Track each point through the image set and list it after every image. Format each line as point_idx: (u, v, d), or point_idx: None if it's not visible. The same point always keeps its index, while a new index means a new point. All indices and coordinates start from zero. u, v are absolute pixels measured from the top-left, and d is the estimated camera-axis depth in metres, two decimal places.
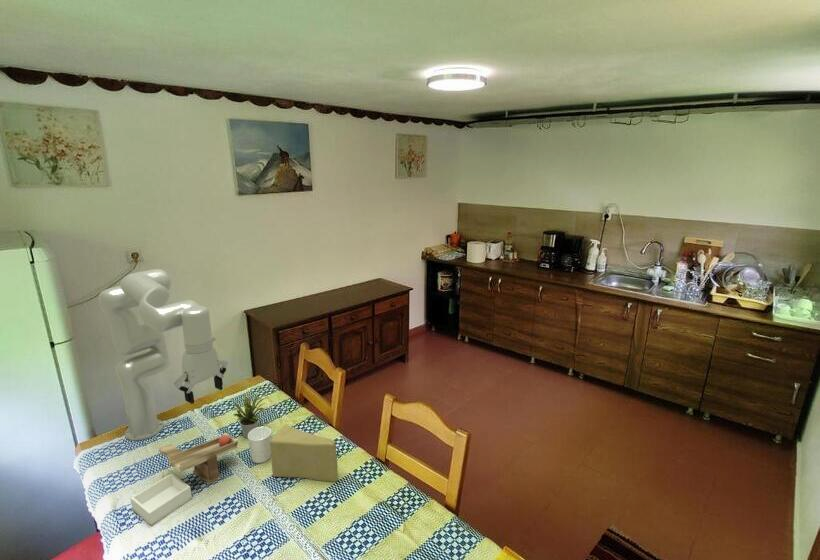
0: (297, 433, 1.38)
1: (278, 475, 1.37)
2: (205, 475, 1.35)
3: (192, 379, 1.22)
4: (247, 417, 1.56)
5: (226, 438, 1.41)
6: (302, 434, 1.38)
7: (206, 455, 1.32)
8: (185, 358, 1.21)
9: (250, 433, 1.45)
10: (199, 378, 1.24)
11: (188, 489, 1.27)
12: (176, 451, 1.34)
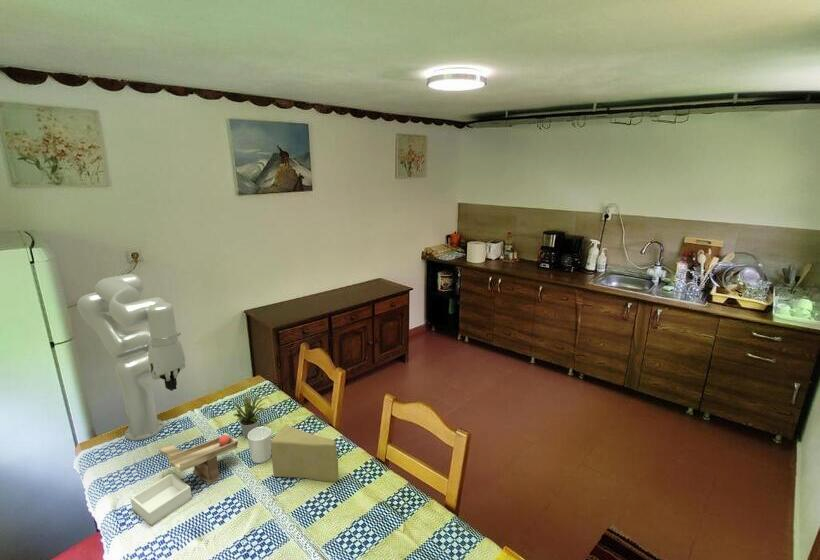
0: (298, 434, 1.38)
1: (279, 475, 1.37)
2: (205, 475, 1.35)
3: (157, 370, 1.32)
4: (247, 417, 1.56)
5: (226, 438, 1.41)
6: (303, 434, 1.38)
7: (206, 455, 1.32)
8: (151, 351, 1.32)
9: (250, 433, 1.45)
10: (165, 370, 1.34)
11: (188, 489, 1.27)
12: (176, 451, 1.34)
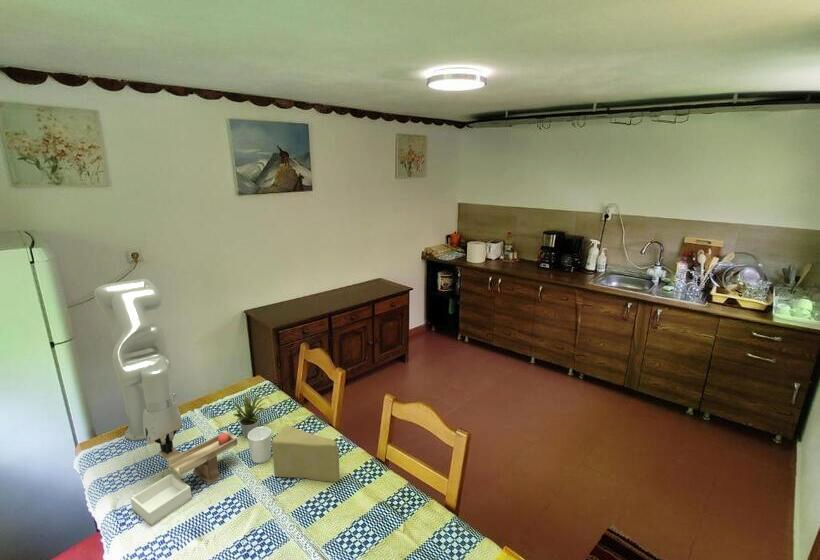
0: (299, 434, 1.38)
1: (280, 475, 1.37)
2: (205, 475, 1.35)
3: (152, 435, 1.27)
4: (247, 417, 1.56)
5: (225, 436, 1.40)
6: (304, 435, 1.38)
7: (205, 456, 1.32)
8: (146, 415, 1.27)
9: (250, 433, 1.45)
10: (160, 434, 1.29)
11: (188, 489, 1.27)
12: (176, 453, 1.34)
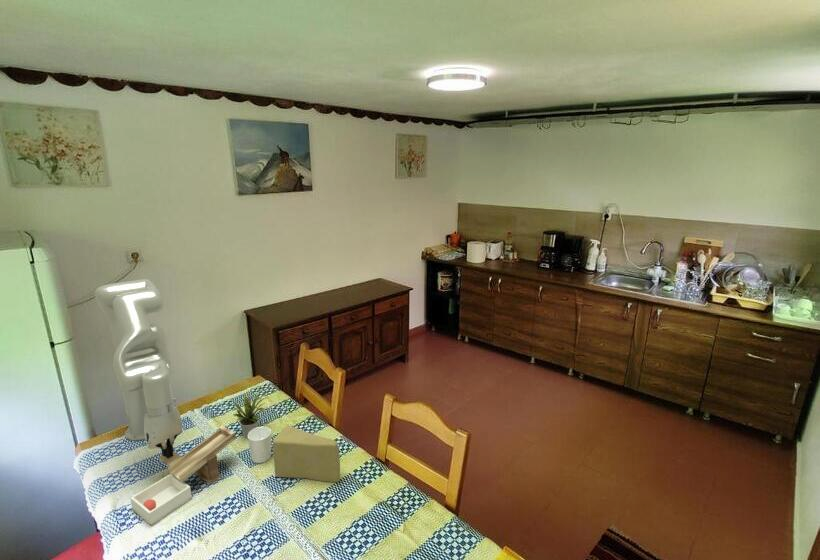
0: (299, 434, 1.38)
1: (280, 475, 1.37)
2: (205, 475, 1.35)
3: (153, 440, 1.28)
4: (247, 417, 1.56)
5: None
6: (304, 435, 1.38)
7: (204, 458, 1.32)
8: (147, 420, 1.27)
9: (250, 433, 1.45)
10: (161, 438, 1.30)
11: (188, 489, 1.27)
12: (176, 457, 1.34)
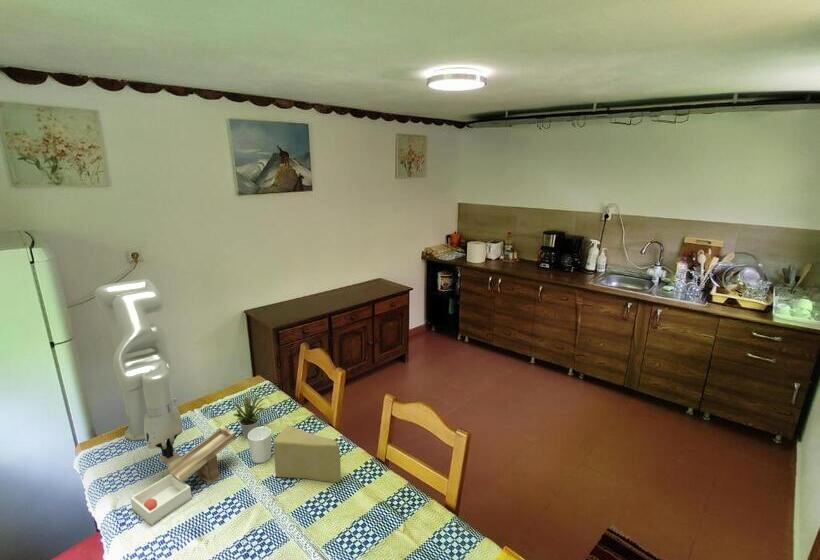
0: (300, 434, 1.38)
1: (281, 476, 1.37)
2: (205, 475, 1.35)
3: (153, 440, 1.28)
4: (247, 417, 1.56)
5: None
6: (305, 435, 1.37)
7: (204, 458, 1.32)
8: (147, 420, 1.27)
9: (250, 433, 1.45)
10: (161, 438, 1.30)
11: (188, 489, 1.27)
12: (176, 457, 1.34)
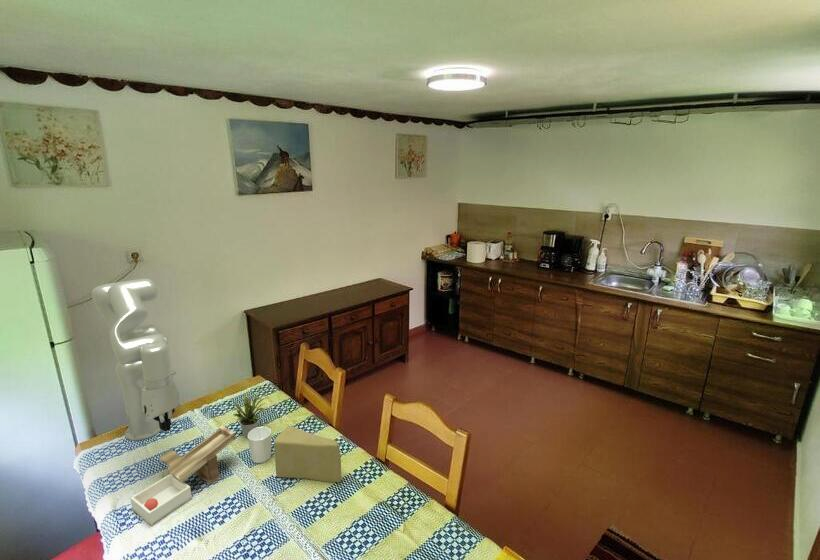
0: (300, 434, 1.38)
1: (282, 476, 1.37)
2: (205, 475, 1.35)
3: (151, 413, 1.27)
4: (247, 417, 1.56)
5: (150, 510, 1.21)
6: (305, 435, 1.37)
7: (204, 458, 1.32)
8: (144, 393, 1.26)
9: (250, 433, 1.45)
10: (159, 412, 1.29)
11: (188, 489, 1.27)
12: (176, 457, 1.34)
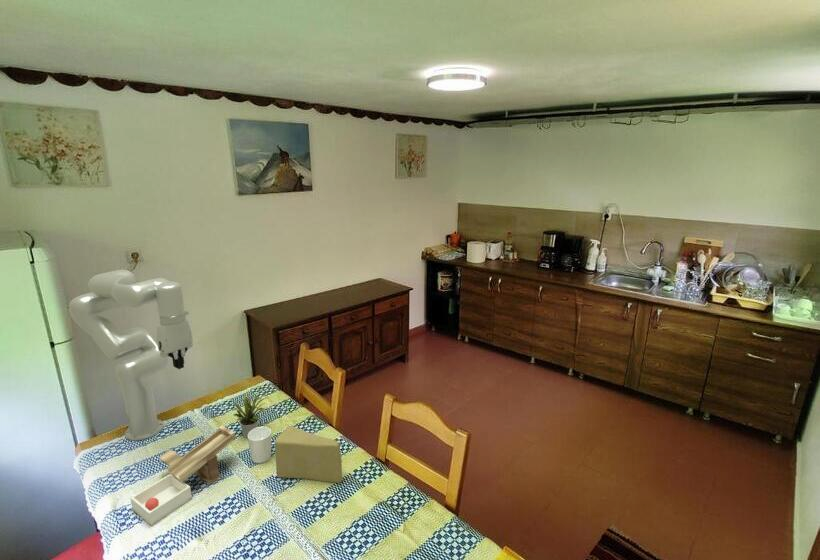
0: (301, 434, 1.38)
1: (282, 476, 1.37)
2: (205, 475, 1.35)
3: (166, 348, 1.35)
4: (247, 417, 1.56)
5: (150, 510, 1.21)
6: (306, 435, 1.37)
7: (204, 458, 1.32)
8: (159, 329, 1.34)
9: (250, 433, 1.45)
10: (173, 348, 1.37)
11: (188, 489, 1.27)
12: (176, 457, 1.34)
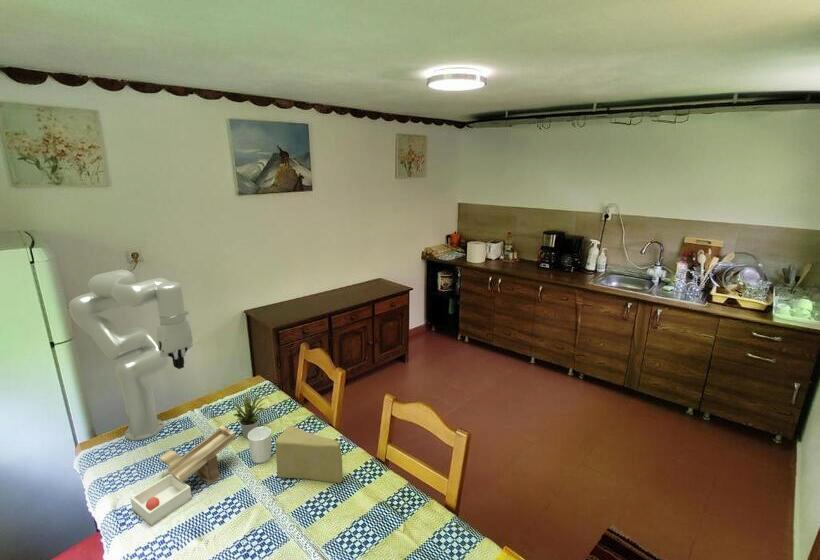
0: (302, 434, 1.38)
1: (283, 476, 1.37)
2: (205, 475, 1.35)
3: (166, 348, 1.35)
4: (247, 417, 1.56)
5: (151, 509, 1.21)
6: (307, 435, 1.37)
7: (204, 458, 1.32)
8: (160, 329, 1.34)
9: (250, 433, 1.45)
10: (173, 348, 1.37)
11: (188, 489, 1.27)
12: (176, 457, 1.34)
